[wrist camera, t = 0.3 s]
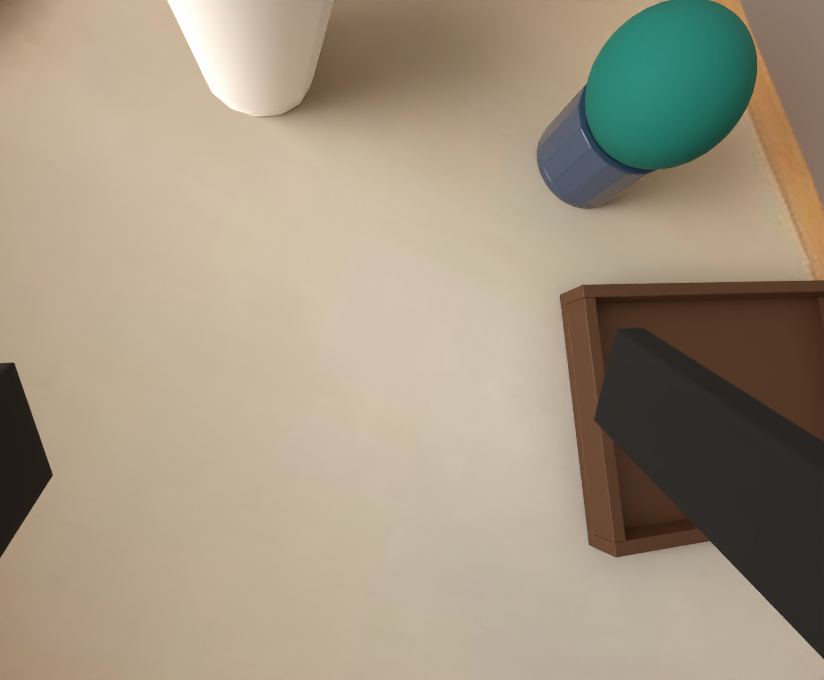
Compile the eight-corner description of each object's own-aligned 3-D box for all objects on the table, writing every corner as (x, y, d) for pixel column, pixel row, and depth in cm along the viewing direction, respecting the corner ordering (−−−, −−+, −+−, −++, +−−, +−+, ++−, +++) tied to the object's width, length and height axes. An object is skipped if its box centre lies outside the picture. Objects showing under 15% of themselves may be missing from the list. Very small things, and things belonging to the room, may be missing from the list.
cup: (628, 209, 34) (684, 176, 29) (542, 207, 32) (586, 171, 27) (616, 121, 35) (668, 74, 30) (531, 114, 33) (572, 64, 28)
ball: (680, 196, 30) (814, 121, 22) (565, 192, 28) (667, 109, 20) (662, 77, 31) (784, -33, 23) (550, 65, 29) (642, -59, 21)
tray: (854, 501, 35) (898, 508, 32) (588, 545, 30) (616, 557, 27) (814, 288, 37) (853, 279, 34) (559, 294, 31) (582, 284, 29)
